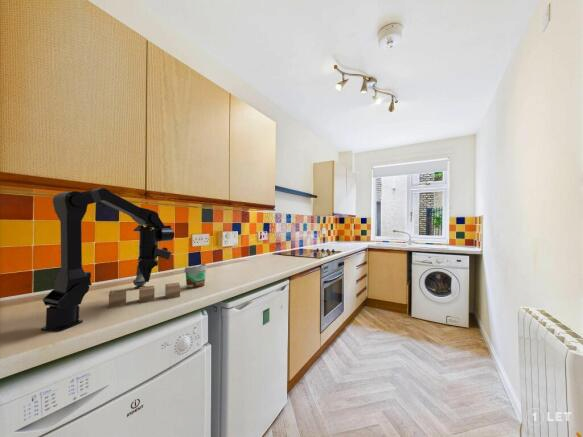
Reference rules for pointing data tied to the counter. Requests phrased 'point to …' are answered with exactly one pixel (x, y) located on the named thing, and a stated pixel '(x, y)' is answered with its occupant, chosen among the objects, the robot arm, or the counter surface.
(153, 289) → the plain walnut block
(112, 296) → the walnut block numbered 7
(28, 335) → the counter surface
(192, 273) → the food container
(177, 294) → the walnut block numbered 1
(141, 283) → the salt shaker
